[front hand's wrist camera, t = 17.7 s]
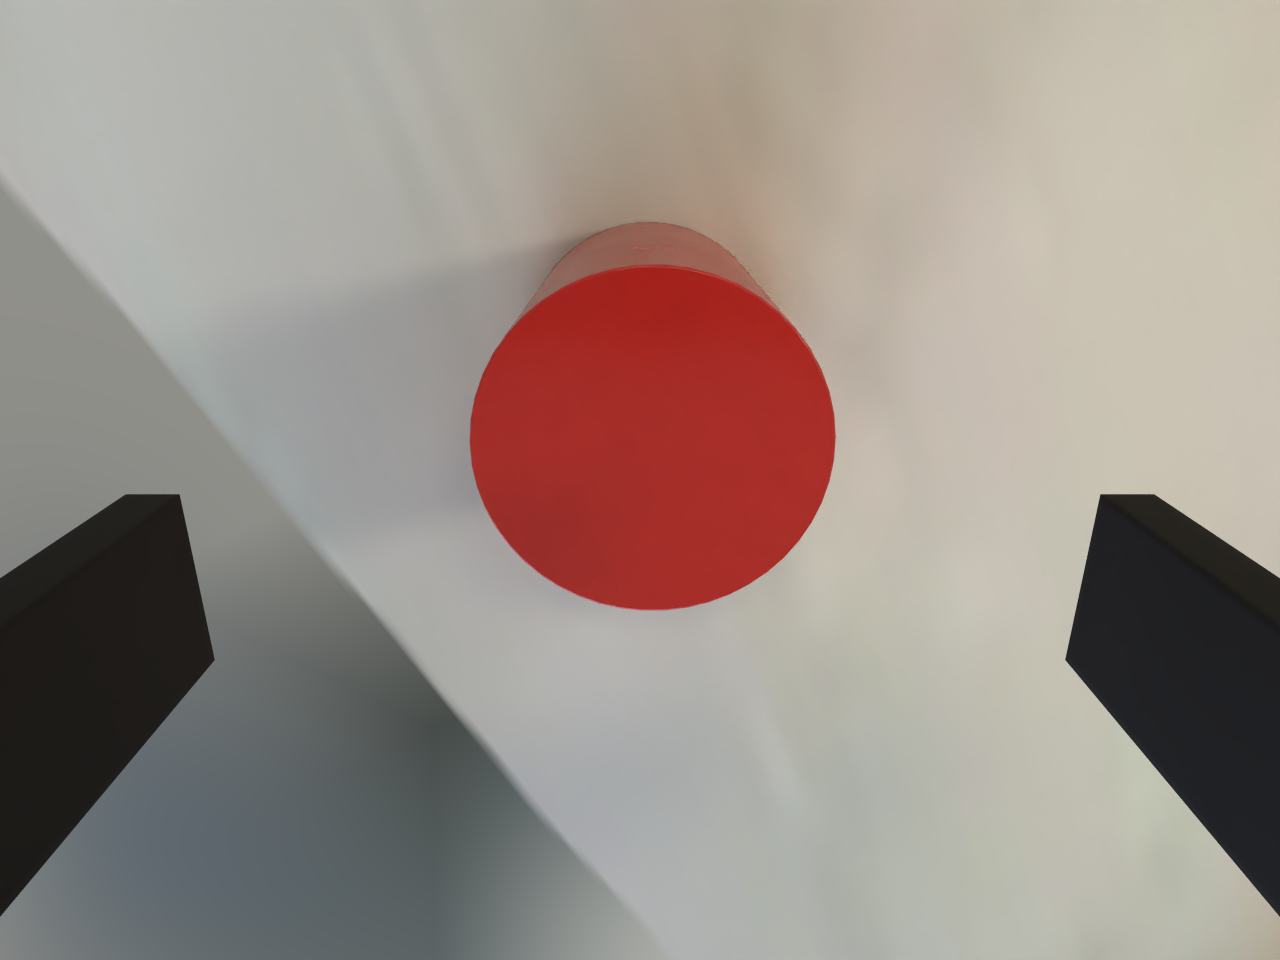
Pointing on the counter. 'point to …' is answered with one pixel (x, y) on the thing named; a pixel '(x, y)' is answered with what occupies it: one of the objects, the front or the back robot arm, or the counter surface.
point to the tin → (652, 424)
